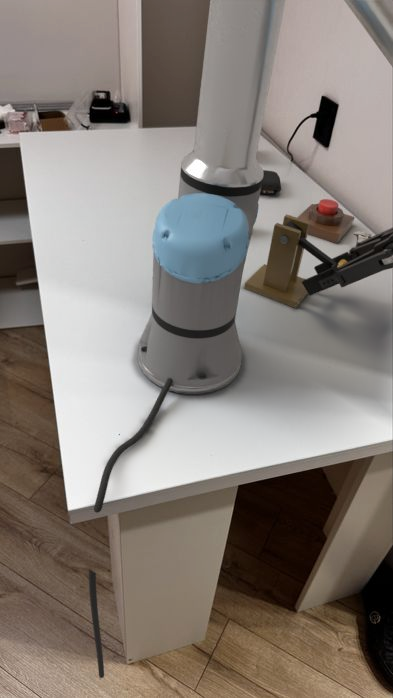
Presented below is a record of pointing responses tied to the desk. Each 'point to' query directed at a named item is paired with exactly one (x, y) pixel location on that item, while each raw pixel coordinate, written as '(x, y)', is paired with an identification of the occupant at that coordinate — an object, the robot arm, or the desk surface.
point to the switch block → (327, 223)
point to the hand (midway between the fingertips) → (312, 280)
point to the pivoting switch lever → (315, 249)
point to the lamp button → (328, 207)
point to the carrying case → (270, 183)
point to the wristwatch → (362, 236)
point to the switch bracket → (282, 265)
